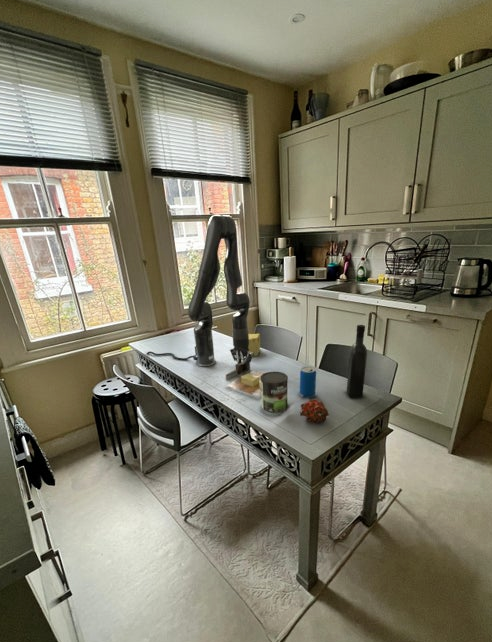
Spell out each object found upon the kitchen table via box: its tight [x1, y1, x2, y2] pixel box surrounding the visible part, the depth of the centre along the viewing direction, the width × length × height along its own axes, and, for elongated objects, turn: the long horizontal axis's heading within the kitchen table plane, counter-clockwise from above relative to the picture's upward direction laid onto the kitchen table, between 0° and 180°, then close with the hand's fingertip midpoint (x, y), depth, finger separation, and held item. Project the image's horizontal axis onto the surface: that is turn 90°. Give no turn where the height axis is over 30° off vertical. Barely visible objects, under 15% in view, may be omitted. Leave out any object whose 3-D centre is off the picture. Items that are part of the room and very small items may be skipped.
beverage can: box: [299, 366, 317, 399], centre depth 131 cm, size 6×6×12 cm
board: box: [226, 369, 265, 397], centre depth 144 cm, size 18×20×2 cm
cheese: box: [248, 333, 261, 357], centre depth 180 cm, size 10×11×10 cm
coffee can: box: [261, 371, 289, 416], centre depth 122 cm, size 10×10×14 cm
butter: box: [240, 372, 260, 387], centre depth 143 cm, size 7×5×3 cm, turn 51°
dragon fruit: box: [299, 399, 330, 424], centre depth 116 cm, size 8×8×12 cm
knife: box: [225, 361, 251, 381], centre depth 152 cm, size 2×16×5 cm, turn 141°
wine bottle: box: [346, 324, 368, 399], centre depth 126 cm, size 6×6×30 cm
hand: (242, 369), depth 155 cm, fingers closed on knife, 2 cm apart
